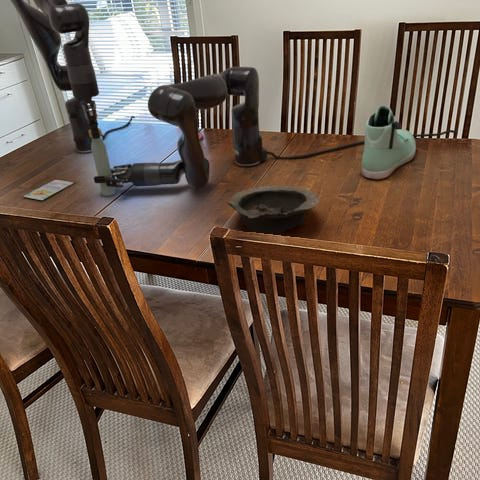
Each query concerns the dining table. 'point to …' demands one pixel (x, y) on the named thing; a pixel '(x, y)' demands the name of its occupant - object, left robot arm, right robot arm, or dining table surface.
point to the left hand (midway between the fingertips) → (95, 135)
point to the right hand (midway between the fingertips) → (97, 176)
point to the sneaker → (385, 145)
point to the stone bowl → (273, 207)
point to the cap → (91, 133)
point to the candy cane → (200, 136)
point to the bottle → (102, 164)
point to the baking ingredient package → (48, 189)
